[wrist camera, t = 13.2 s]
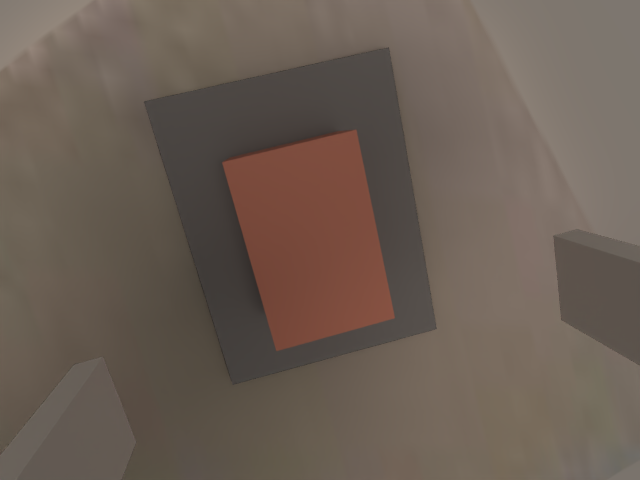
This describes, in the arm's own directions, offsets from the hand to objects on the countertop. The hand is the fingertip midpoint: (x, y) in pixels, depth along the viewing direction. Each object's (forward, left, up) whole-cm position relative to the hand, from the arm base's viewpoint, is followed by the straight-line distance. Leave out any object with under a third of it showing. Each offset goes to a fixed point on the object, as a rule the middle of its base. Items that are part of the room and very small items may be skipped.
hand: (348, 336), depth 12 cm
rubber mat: (0, 0, -16) cm, 16 cm away
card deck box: (0, 0, -15) cm, 15 cm away
